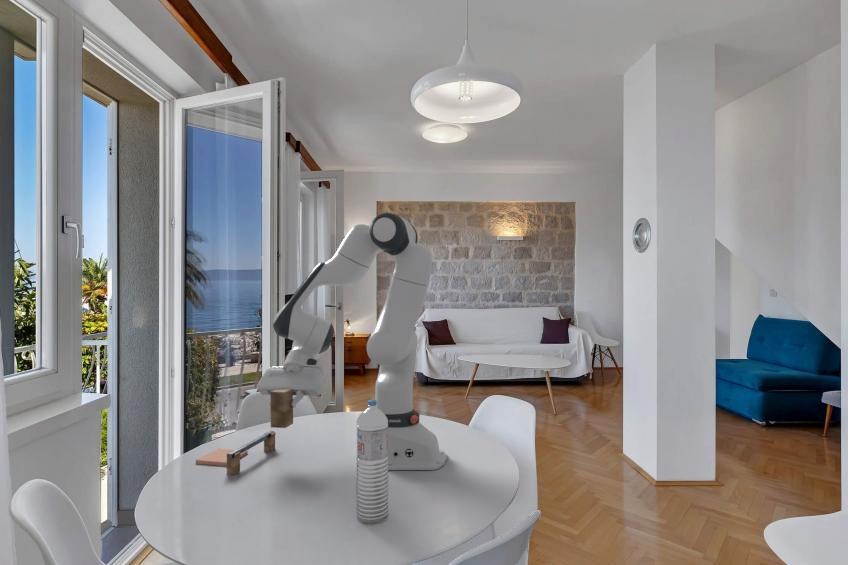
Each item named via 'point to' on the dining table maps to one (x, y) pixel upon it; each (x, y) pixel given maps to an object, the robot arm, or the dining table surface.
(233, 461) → the hurdle posts
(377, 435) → the water bottle
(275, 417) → the walnut block
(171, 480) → the dining table surface
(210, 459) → the coaster
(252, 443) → the metal bar
